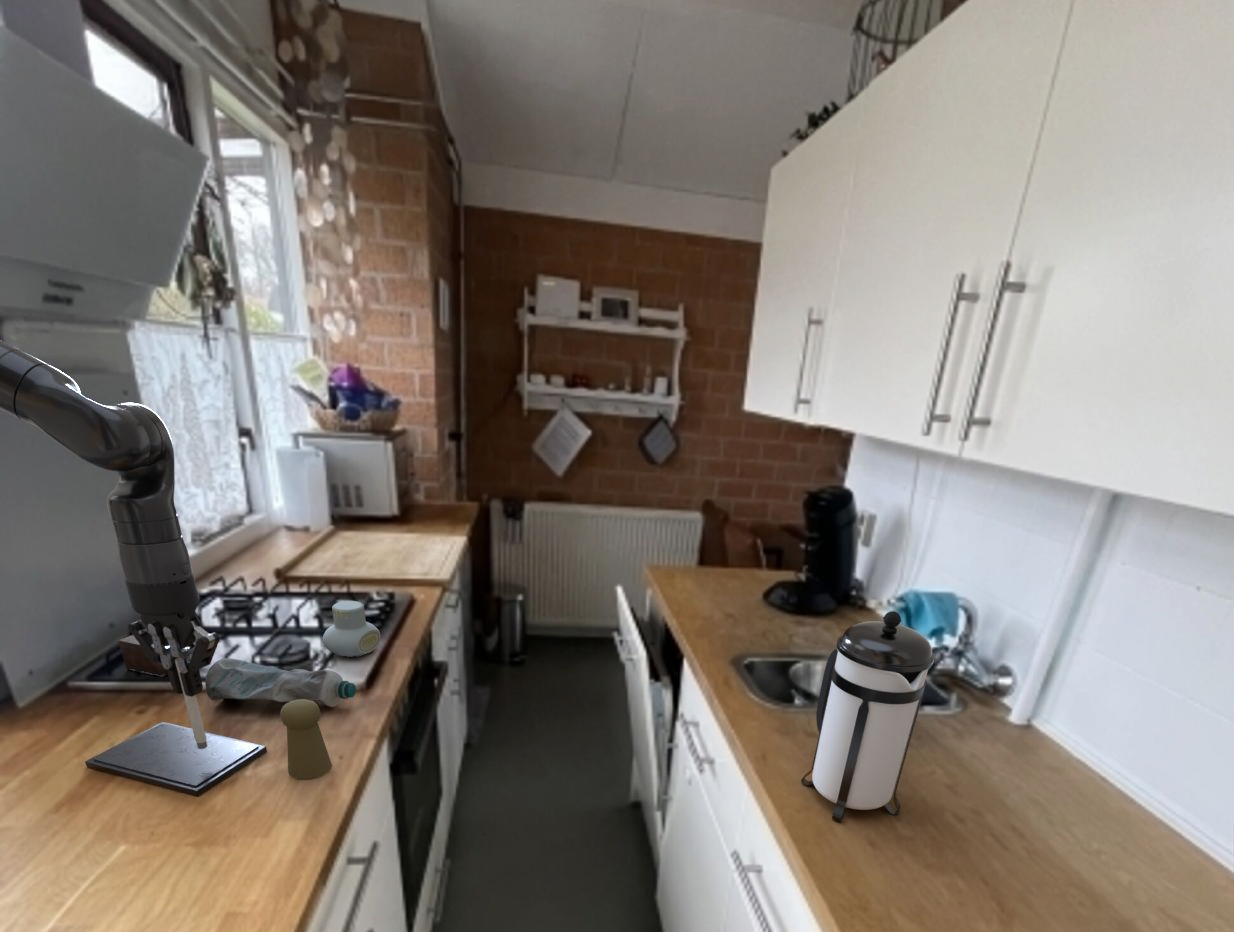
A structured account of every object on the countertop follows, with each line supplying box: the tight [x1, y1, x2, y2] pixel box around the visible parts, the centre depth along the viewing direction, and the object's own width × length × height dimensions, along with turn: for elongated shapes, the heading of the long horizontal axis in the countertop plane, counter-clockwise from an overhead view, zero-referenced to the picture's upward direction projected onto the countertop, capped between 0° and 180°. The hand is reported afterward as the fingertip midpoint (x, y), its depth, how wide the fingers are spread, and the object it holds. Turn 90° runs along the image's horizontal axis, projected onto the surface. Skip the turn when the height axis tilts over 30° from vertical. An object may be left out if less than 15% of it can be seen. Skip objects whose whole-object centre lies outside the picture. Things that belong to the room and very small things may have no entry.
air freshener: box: [322, 600, 382, 658], centre depth 141 cm, size 11×8×10 cm
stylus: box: [175, 659, 207, 749], centre depth 99 cm, size 1×1×14 cm
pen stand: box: [117, 634, 190, 675], centre depth 131 cm, size 8×8×6 cm
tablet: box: [84, 721, 268, 797], centre depth 105 cm, size 20×13×1 cm, turn 73°
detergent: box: [204, 657, 357, 708], centre depth 121 cm, size 13×7×25 cm
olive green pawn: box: [279, 699, 333, 781], centre depth 102 cm, size 6×6×11 cm
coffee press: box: [800, 610, 935, 823], centre depth 101 cm, size 17×16×30 cm
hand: (188, 692), depth 98 cm, fingers closed on stylus, 1 cm apart
